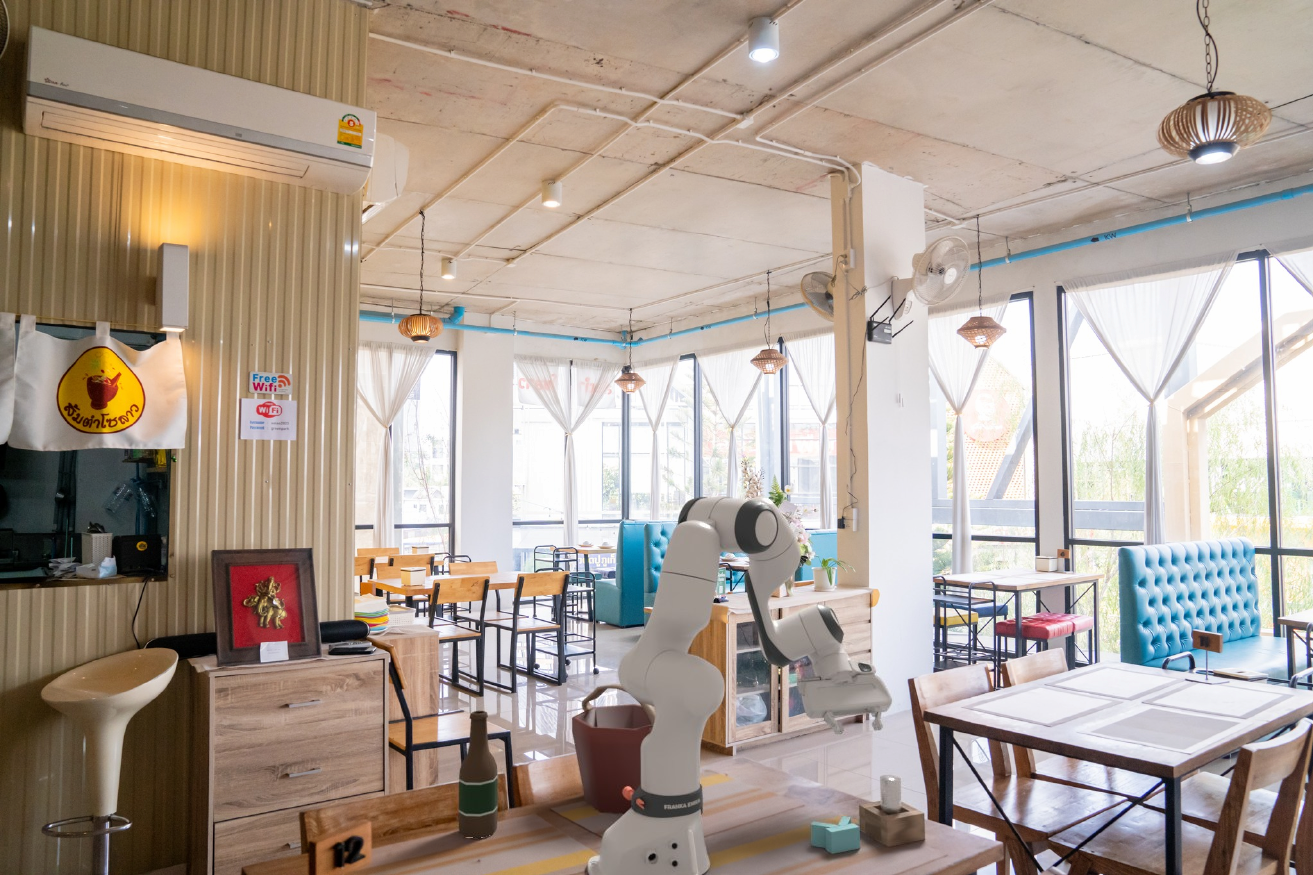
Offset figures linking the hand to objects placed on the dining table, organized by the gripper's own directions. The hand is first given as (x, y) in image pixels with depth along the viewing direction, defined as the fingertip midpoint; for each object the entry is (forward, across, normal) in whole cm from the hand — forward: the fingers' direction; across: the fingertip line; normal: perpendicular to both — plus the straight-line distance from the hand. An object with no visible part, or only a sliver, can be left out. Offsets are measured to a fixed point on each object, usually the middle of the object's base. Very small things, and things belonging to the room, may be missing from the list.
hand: (859, 730), depth 180 cm
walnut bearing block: (+20, 0, +4) cm, 21 cm away
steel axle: (+20, 0, +4) cm, 21 cm away
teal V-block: (+21, -13, +3) cm, 25 cm away
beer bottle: (+2, -79, +23) cm, 83 cm away
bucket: (-4, -46, +29) cm, 55 cm away
